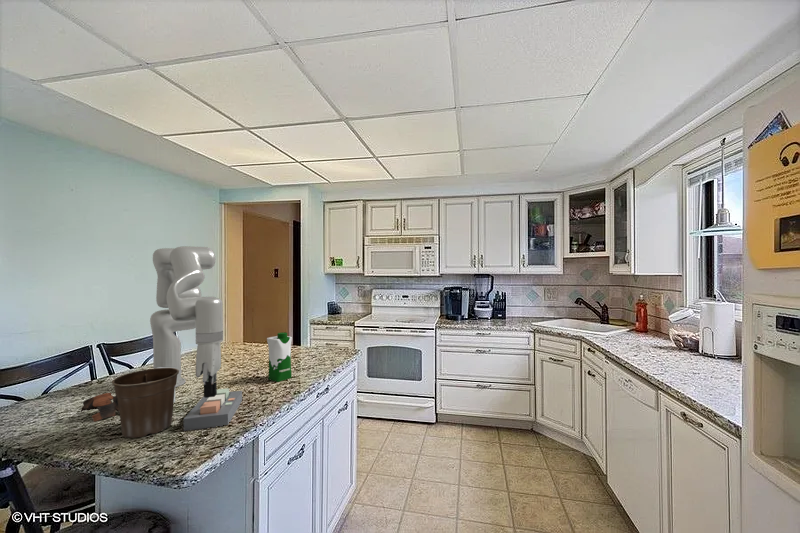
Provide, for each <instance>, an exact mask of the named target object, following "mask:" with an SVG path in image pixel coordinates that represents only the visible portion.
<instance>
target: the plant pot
mask: <svg viewBox="0 0 800 533" xmlns="http://www.w3.org/2000/svg"><path fill="white" fill-rule="evenodd" d="M178 373H179V370H178V369H176V368H154V367H153V368H149V369H141V370H138V371H133V372H128V373H126V374H123V375H120V376H118V377H115V378H114V379H113V380H111V385H112V386H114V393H115V395H114V396H117V399H118V406H119V411H118V413H119V420H120V428H121V435H122V436H123V437H124V438H130V439H131V438H132V439H133V438H134V439H135V438H144V437H147V435H150V434H153V435H155V434H157V433H160V432H162V431H164V430H166V429H168V428H169V427H170V426H171V425H172V423H173V416H174V403H175V402H174V391H175V392H176V387H175V385H176V382H177V374H178Z"/></svg>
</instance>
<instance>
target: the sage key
mask: <svg viewBox="0 0 800 533" xmlns="http://www.w3.org/2000/svg"><path fill="white" fill-rule="evenodd" d="M229 392H230V388H219V389H217V394H216V395H222V394H225V399H227V398H228V397H229Z"/></svg>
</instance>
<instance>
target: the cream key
mask: <svg viewBox="0 0 800 533" xmlns="http://www.w3.org/2000/svg"><path fill="white" fill-rule="evenodd" d="M213 401H220V406H222V405H223V404H224V402H225V394H222V395H216V396H215V397H209V398H208V399H207V400H206V402H213Z"/></svg>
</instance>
